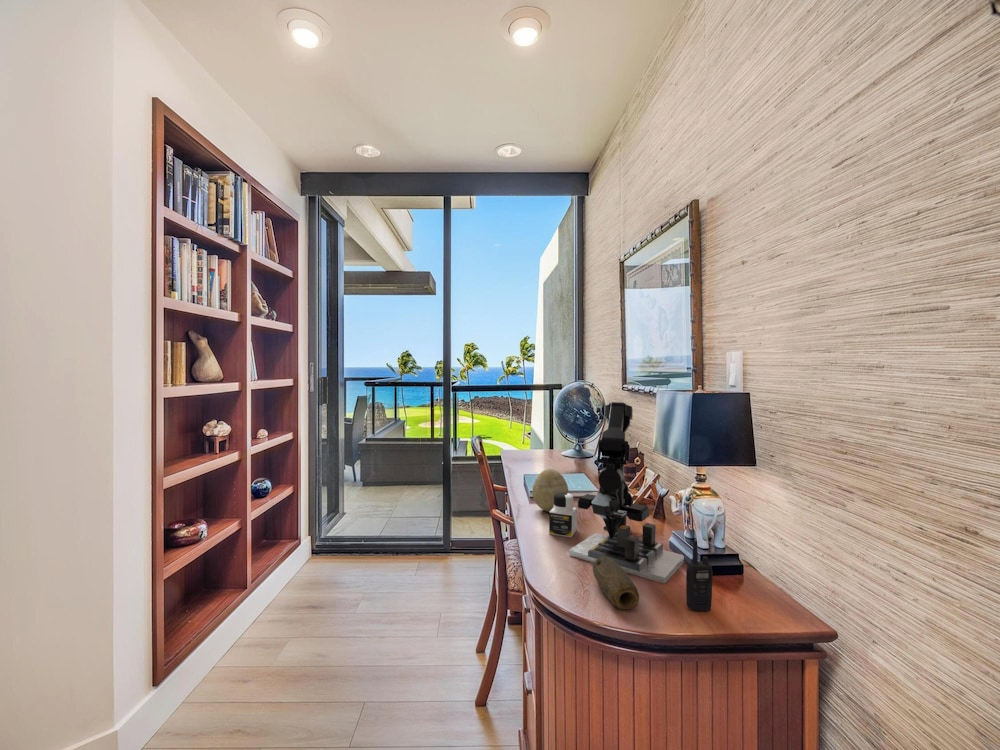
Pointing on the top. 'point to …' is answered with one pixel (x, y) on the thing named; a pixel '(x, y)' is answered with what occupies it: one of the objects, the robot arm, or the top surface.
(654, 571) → the breaker panel
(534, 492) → the fossilized egg
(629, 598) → the stone weight
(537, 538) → the top surface
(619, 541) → the block
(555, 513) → the medicine bottle
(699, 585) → the two-way radio
